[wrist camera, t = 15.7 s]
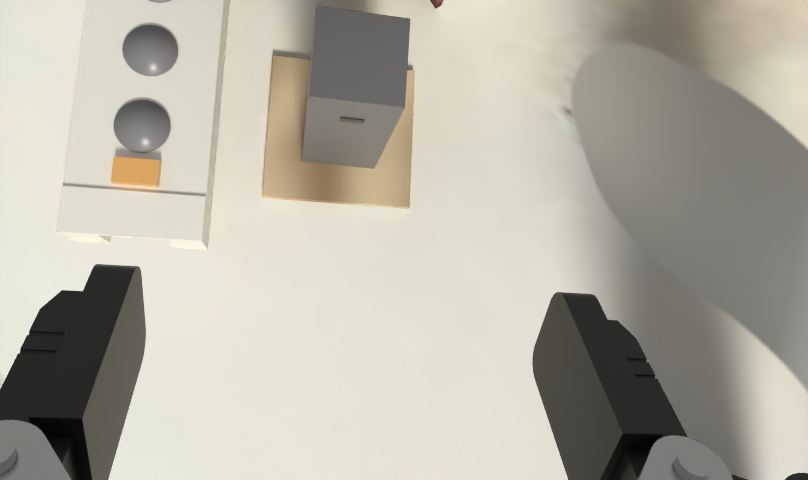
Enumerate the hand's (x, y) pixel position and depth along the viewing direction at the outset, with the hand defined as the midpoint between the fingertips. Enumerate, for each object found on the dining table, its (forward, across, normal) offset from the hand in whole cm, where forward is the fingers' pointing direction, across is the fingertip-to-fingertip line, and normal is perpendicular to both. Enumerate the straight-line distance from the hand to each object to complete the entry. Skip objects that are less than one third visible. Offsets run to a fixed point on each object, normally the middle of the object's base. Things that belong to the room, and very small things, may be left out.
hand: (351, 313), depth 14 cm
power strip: (+31, +10, +10) cm, 34 cm away
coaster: (+30, -2, +11) cm, 32 cm away
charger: (+29, -2, +11) cm, 31 cm away
